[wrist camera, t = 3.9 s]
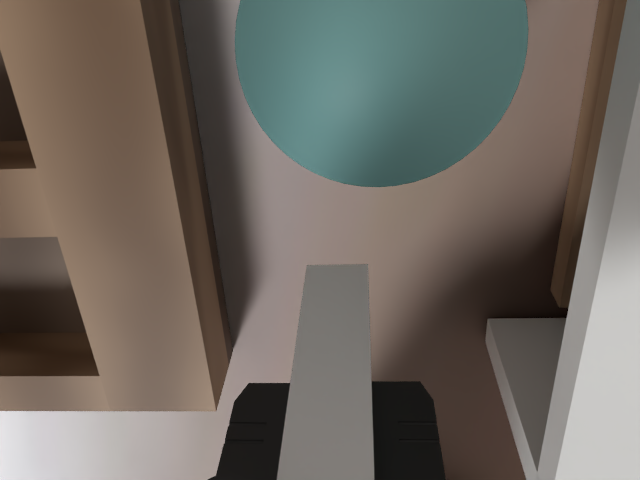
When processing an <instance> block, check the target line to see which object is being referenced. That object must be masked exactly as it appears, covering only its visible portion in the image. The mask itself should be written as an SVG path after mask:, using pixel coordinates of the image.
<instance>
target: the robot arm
mask: <svg viewBox="0 0 640 480" xmlns="http://www.w3.org/2000/svg"><path fill="white" fill-rule="evenodd" d="M208 480H446V479H445V473H444V467H443V460H442V454H441V447H440V443H439V434H438V428H437V421H436V415H435V408H434V402H433V399H432V398H431V396H430V395H429V393H428V392H427V391H426V389H425V388H424V386H423V385H422V384H421V382H371V349H370V315H369V282H368V264H351V265H307V268H306V275H305V282H304V289H303V296H302V303H301V310H300V317H299V324H298V332H297V339H296V346H295V353H294V360H293V367H292V374H291V381H290V383H249V384H248V385H247V386H246V387H245V389H244V390H243V391H242V393H241V394H240V395H239V396H238V398H237V399H236V400H235V401H234V405H233V410H232V414H231V418H230V422H229V426H228V430H227V434H226V438H225V444H224V446H223V450H222V454H221V458H220V462H219V466H218V470H217V474H216V476H214V477H212V478H210V479H208Z"/></svg>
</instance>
